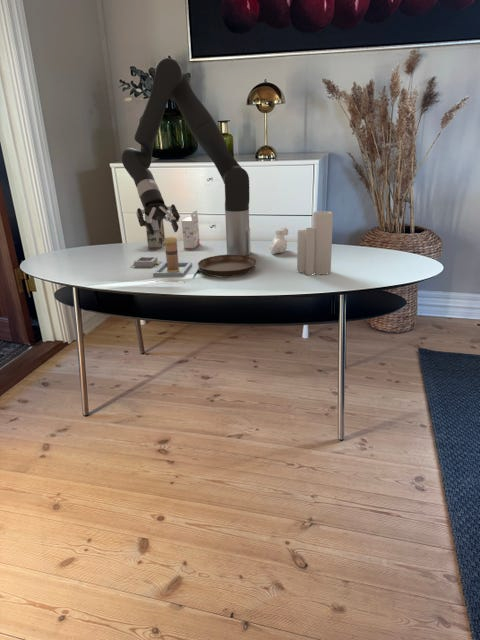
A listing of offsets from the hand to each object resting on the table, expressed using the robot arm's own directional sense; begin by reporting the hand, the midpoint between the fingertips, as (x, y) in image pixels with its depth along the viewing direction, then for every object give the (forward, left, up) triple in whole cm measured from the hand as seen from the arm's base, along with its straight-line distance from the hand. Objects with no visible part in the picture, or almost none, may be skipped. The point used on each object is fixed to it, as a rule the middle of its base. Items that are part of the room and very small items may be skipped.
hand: (164, 232), depth 165 cm
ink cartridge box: (0, -39, -14) cm, 42 cm away
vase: (-51, +2, -14) cm, 53 cm away
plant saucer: (-21, -1, -14) cm, 25 cm away
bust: (-38, -27, -14) cm, 49 cm away
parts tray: (-3, +5, -14) cm, 15 cm away
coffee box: (+16, -41, -14) cm, 46 cm away
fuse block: (+9, -3, -14) cm, 17 cm away
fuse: (-3, +5, -13) cm, 14 cm away
